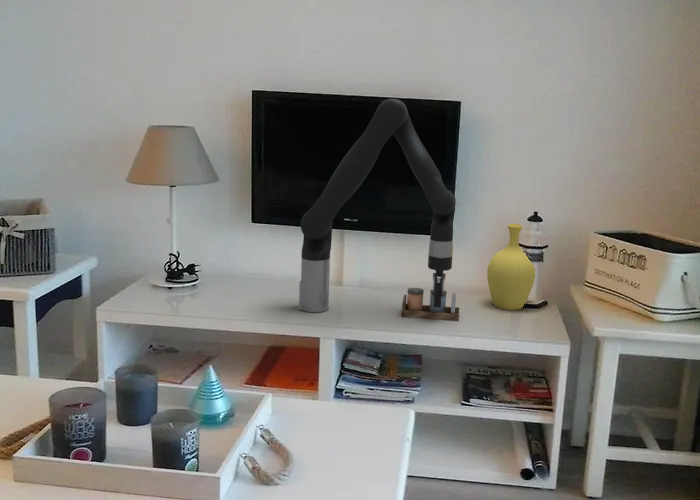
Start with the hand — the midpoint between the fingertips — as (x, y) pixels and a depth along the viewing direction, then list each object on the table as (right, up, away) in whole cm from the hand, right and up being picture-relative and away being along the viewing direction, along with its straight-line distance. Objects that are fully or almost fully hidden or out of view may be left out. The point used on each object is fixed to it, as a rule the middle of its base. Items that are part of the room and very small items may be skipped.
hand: (437, 303), depth 250 cm
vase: (+26, -2, +18) cm, 32 cm away
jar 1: (-7, -4, +2) cm, 8 cm away
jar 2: (0, -4, +1) cm, 4 cm away
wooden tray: (-2, -5, +1) cm, 5 cm away
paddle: (+5, -4, 0) cm, 6 cm away
